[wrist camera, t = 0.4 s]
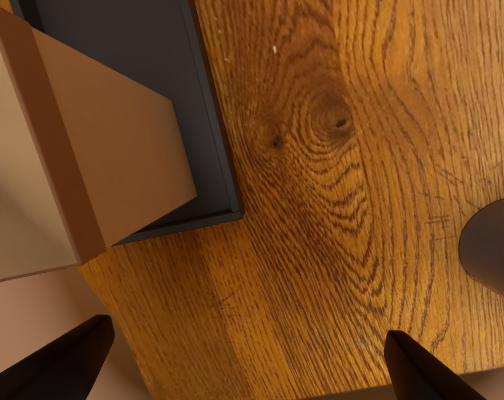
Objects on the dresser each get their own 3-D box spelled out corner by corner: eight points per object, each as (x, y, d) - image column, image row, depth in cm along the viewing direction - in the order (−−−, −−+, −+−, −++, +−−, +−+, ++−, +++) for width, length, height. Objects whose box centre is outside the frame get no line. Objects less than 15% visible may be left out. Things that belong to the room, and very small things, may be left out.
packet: (198, 196, 19) (81, 266, 7) (135, 210, 20) (-66, 295, 8) (172, 99, 18) (-15, -3, 6) (106, 117, 19) (-179, 55, 7)
